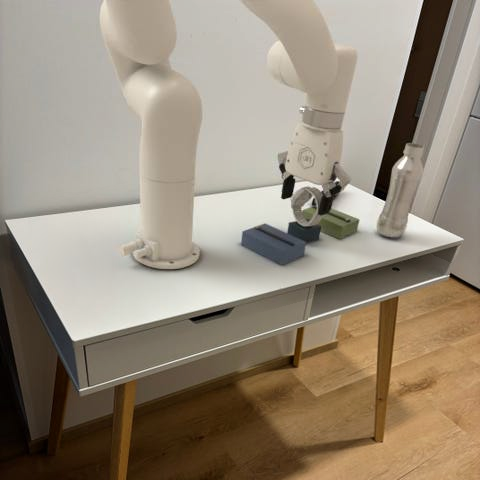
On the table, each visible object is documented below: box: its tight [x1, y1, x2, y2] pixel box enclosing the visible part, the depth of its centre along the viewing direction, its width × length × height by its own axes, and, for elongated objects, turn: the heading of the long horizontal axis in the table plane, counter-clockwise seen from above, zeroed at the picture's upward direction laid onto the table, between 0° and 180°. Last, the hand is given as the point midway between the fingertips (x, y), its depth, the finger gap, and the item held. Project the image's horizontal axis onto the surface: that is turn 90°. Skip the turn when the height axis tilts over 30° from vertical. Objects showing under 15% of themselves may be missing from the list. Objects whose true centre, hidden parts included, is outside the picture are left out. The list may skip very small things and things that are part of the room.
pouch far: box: [301, 205, 361, 240], centre depth 111 cm, size 7×11×4 cm, turn 46°
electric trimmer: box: [311, 180, 340, 206], centre depth 126 cm, size 4×16×3 cm, turn 152°
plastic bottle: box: [376, 142, 425, 239], centre depth 106 cm, size 6×7×20 cm
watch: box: [286, 185, 323, 244], centre depth 102 cm, size 6×8×11 cm
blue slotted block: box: [240, 223, 307, 266], centre depth 98 cm, size 7×11×4 cm, turn 46°
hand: (304, 205), depth 101 cm, fingers open, 9 cm apart
